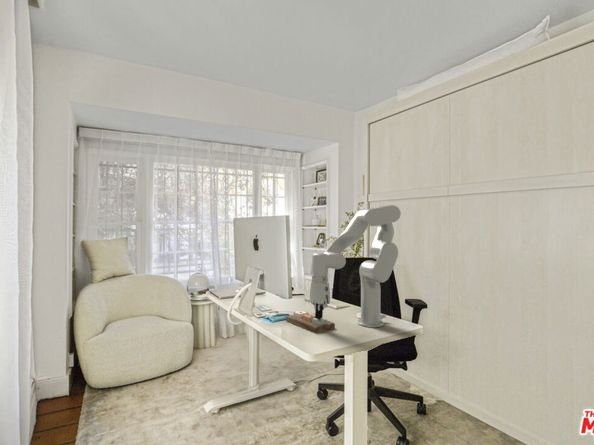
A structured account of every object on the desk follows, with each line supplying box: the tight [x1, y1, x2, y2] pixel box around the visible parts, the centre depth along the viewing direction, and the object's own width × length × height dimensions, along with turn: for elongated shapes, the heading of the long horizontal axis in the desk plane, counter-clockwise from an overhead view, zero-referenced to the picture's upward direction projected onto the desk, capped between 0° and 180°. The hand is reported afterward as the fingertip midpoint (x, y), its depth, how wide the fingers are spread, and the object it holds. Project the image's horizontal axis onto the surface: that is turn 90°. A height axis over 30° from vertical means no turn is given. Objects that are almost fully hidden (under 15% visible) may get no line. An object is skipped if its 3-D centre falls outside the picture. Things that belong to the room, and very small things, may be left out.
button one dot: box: [293, 310, 308, 318], centre depth 168 cm, size 5×5×3 cm
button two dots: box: [303, 313, 315, 322], centre depth 162 cm, size 5×5×3 cm
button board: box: [285, 314, 336, 334], centre depth 162 cm, size 12×23×2 cm, turn 37°
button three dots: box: [312, 317, 328, 326], centre depth 156 cm, size 5×5×3 cm
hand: (318, 318), depth 156 cm, fingers closed
